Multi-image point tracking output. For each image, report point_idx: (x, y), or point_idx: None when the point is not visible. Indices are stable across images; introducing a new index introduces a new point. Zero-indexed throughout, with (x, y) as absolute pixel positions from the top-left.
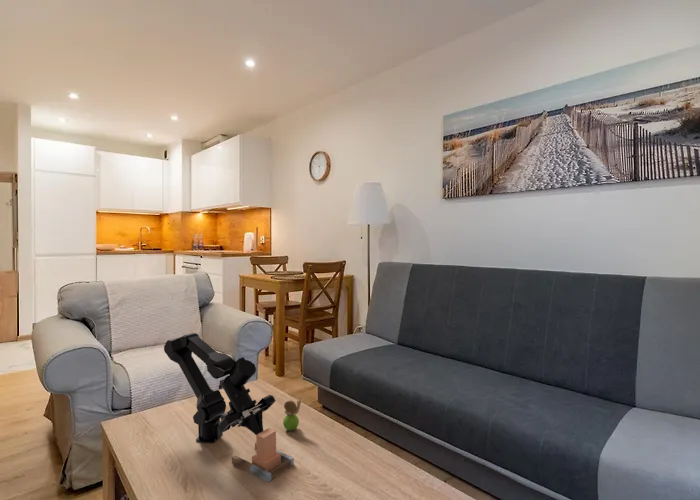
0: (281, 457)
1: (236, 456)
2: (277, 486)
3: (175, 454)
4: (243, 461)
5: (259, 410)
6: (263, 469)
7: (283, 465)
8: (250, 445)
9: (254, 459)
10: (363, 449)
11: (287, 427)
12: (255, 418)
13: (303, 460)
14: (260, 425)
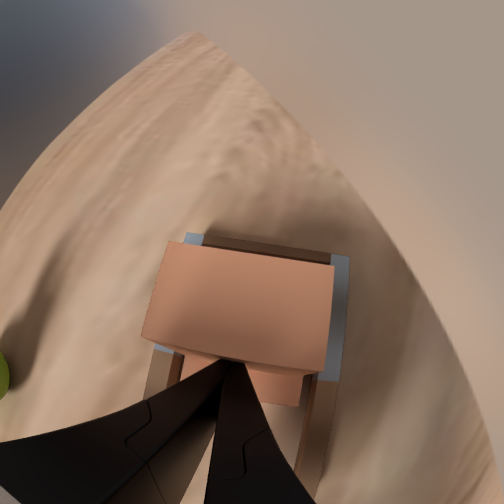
0: None
1: None
2: (339, 227)
3: None
4: (321, 437)
5: (17, 494)
6: None
7: (252, 243)
8: None
9: (300, 385)
10: (81, 129)
11: (4, 377)
12: (213, 497)
13: (157, 227)
14: (195, 404)
